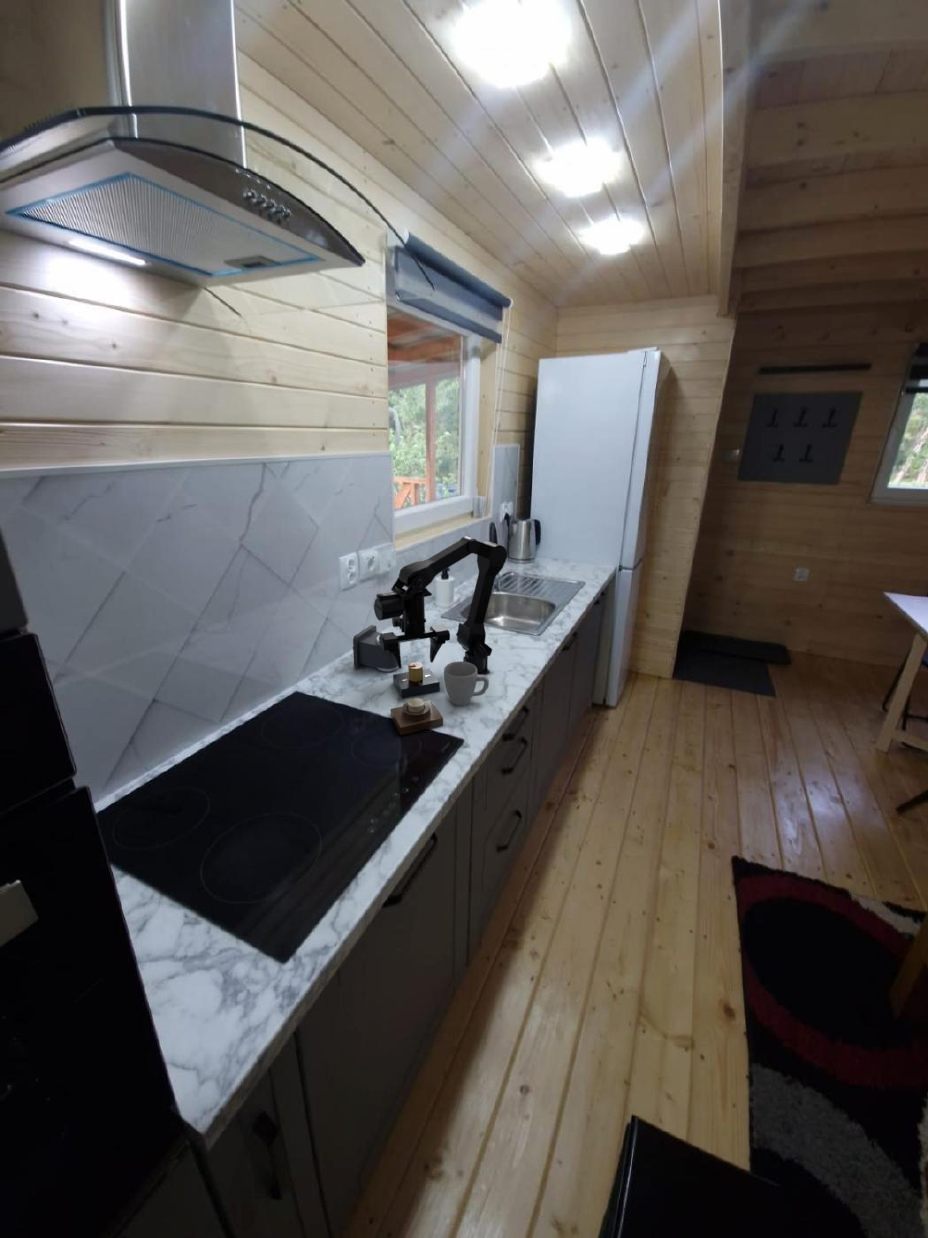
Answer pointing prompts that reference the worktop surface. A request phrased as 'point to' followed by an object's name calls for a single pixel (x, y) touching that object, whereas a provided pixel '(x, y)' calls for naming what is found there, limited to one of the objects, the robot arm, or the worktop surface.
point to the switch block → (416, 718)
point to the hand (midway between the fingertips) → (415, 664)
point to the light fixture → (372, 651)
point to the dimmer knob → (415, 671)
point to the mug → (463, 682)
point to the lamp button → (416, 705)
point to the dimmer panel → (416, 684)
